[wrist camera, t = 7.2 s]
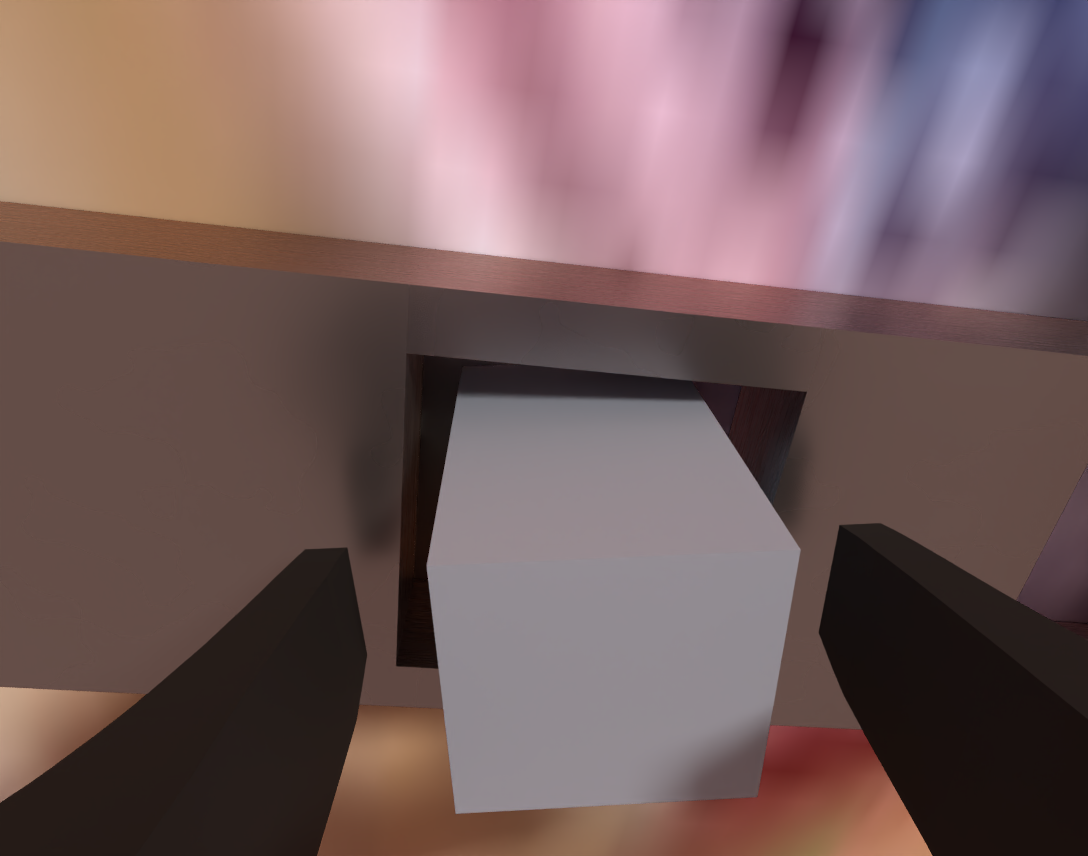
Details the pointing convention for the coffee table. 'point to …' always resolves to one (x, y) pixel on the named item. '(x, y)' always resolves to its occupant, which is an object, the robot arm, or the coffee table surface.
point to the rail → (395, 420)
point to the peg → (602, 594)
